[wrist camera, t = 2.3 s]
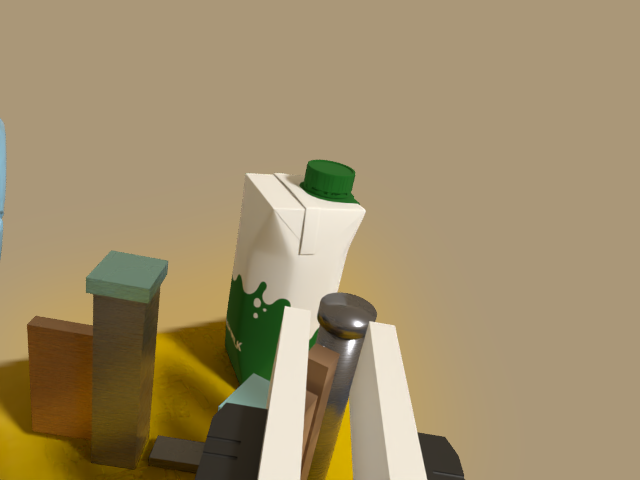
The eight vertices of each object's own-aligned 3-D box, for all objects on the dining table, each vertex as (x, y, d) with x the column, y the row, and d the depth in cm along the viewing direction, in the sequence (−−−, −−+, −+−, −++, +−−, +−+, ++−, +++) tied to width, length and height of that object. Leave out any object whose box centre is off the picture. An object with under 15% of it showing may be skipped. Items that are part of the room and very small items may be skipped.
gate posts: (22, 456, 34) (10, 264, 28) (49, 417, 37) (43, 238, 31) (328, 503, 36) (379, 329, 29) (328, 461, 39) (374, 298, 33)
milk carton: (329, 391, 46) (383, 188, 38) (234, 405, 42) (271, 182, 34) (296, 334, 53) (335, 153, 45) (212, 341, 49) (237, 144, 41)
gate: (233, 625, 26) (273, 436, 21) (190, 595, 27) (218, 406, 22) (310, 498, 34) (354, 336, 29) (276, 477, 35) (312, 317, 30)
